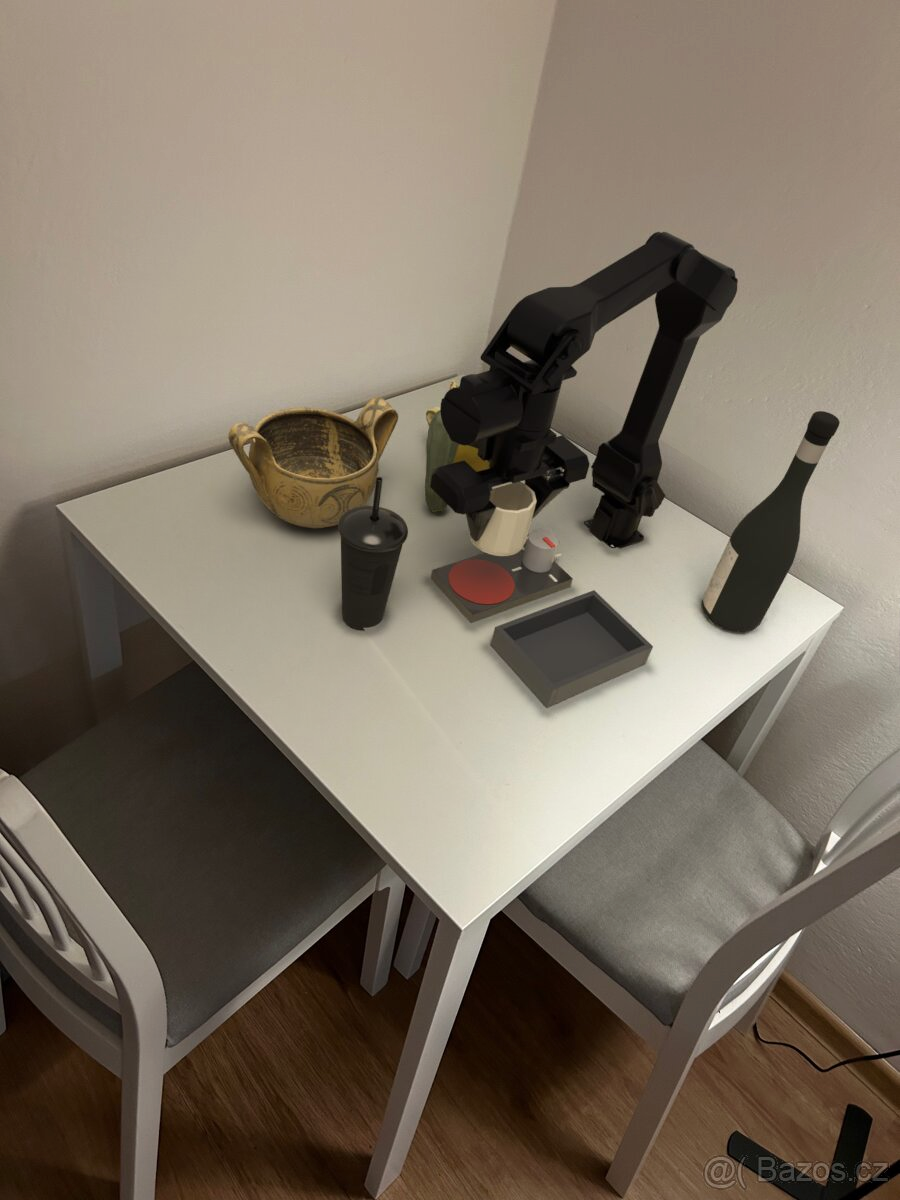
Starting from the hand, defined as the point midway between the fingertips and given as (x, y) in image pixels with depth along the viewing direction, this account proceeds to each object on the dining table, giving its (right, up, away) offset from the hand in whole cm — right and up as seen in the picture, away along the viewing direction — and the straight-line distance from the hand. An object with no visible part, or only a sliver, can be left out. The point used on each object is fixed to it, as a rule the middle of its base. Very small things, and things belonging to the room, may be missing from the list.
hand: (498, 531), depth 106 cm
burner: (-2, -6, +6) cm, 8 cm away
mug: (-5, +12, +28) cm, 31 cm away
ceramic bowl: (-25, +4, +15) cm, 29 cm away
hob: (+1, -6, +9) cm, 11 cm away
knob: (+6, -3, +10) cm, 12 cm away
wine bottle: (+31, -10, +12) cm, 35 cm away
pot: (0, -1, +1) cm, 1 cm away
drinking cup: (-16, -10, +1) cm, 19 cm away
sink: (+8, -15, +1) cm, 17 cm away
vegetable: (-8, +4, +18) cm, 20 cm away
